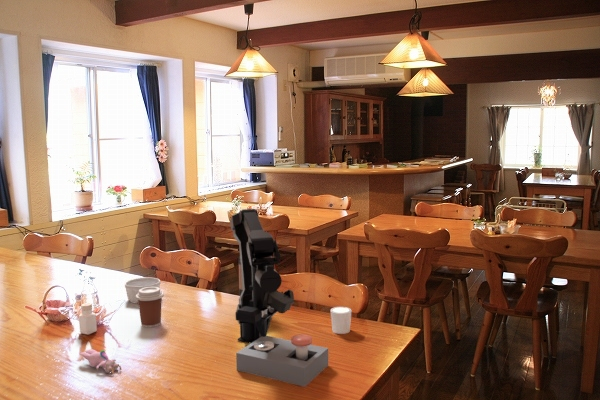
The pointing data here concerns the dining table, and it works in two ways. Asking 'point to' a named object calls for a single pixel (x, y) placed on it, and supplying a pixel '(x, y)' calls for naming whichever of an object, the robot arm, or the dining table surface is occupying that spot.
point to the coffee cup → (150, 306)
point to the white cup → (341, 319)
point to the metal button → (264, 346)
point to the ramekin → (139, 286)
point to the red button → (301, 346)
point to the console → (282, 361)
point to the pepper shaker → (87, 319)
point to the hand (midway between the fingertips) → (263, 336)
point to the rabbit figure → (100, 360)
